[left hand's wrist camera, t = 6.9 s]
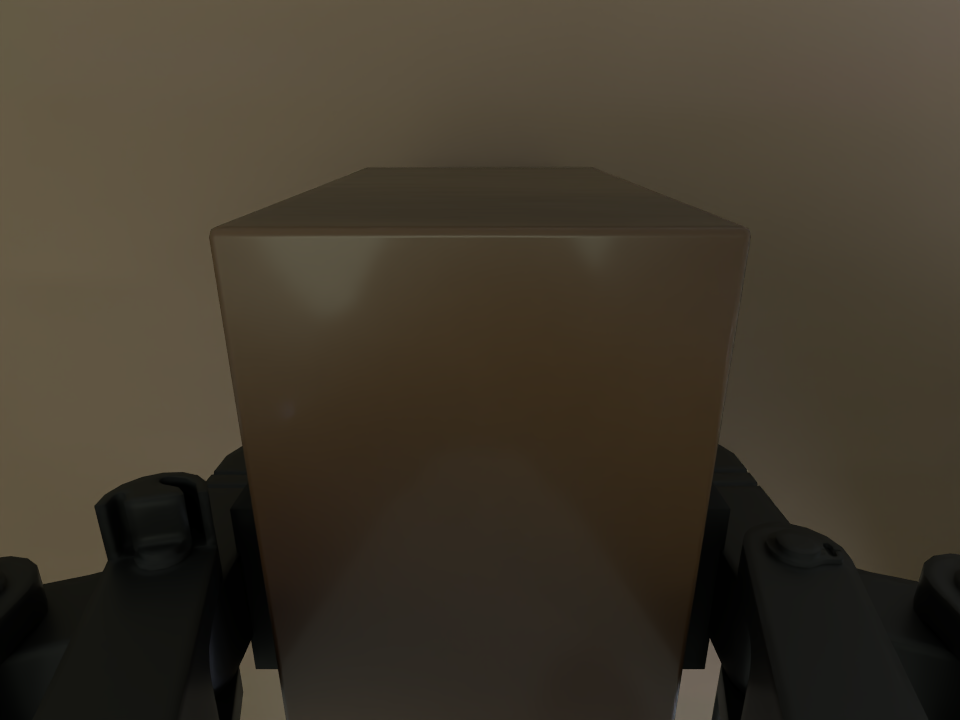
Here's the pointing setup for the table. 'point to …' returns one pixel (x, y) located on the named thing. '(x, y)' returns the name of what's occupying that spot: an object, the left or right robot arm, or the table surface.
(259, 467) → the block
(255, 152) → the table surface
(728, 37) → the table surface
